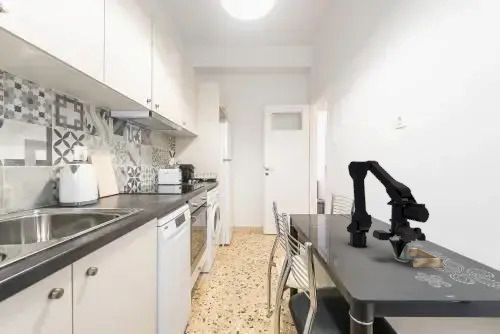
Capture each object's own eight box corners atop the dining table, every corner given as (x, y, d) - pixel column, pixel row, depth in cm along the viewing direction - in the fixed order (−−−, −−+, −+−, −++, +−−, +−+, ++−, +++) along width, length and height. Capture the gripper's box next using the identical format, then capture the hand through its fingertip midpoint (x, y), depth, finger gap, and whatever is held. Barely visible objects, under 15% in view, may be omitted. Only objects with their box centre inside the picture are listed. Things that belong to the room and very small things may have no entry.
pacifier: (400, 263, 108) (415, 263, 108) (400, 247, 108) (415, 247, 108) (391, 257, 116) (405, 257, 115) (390, 242, 115) (405, 242, 115)
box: (414, 267, 104) (414, 259, 104) (393, 255, 118) (393, 248, 118) (442, 267, 105) (442, 259, 105) (417, 255, 119) (418, 248, 119)
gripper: (387, 221, 103) (386, 263, 103) (436, 222, 104) (435, 264, 104) (372, 215, 114) (371, 254, 114) (416, 216, 115) (415, 254, 115)
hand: (398, 256), depth 111 cm, fingers closed
